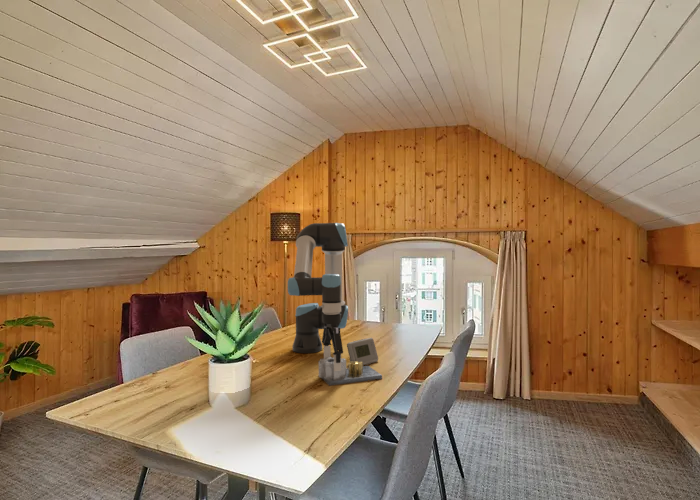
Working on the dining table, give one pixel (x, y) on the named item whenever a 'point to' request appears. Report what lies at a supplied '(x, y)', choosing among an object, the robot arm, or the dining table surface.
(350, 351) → the digital clock
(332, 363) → the planet gear
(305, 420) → the dining table surface
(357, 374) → the carrier
